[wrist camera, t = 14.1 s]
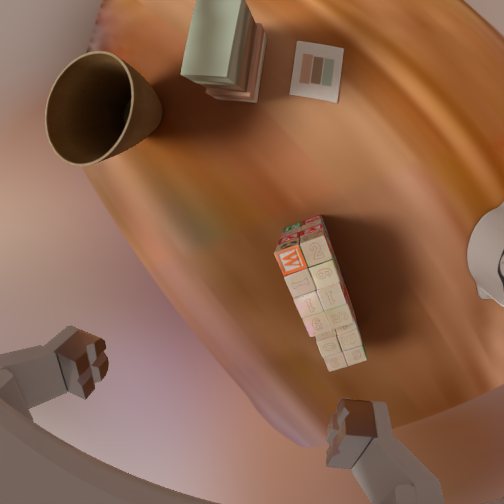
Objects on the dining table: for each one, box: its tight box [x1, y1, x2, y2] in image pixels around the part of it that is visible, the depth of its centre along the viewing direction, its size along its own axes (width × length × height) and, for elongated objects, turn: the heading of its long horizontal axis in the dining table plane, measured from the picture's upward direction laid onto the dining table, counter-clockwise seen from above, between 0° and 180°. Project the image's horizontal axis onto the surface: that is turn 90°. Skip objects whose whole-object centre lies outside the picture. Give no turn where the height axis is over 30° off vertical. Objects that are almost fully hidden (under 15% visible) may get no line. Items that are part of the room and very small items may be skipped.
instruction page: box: [289, 41, 344, 103], centre depth 39 cm, size 7×9×1 cm
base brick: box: [206, 23, 267, 103], centre depth 38 cm, size 6×11×6 cm, turn 172°
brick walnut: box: [198, 15, 257, 93], centre depth 33 cm, size 5×10×5 cm, turn 172°
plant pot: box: [45, 51, 163, 166], centre depth 38 cm, size 15×15×16 cm
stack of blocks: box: [274, 215, 367, 371], centre depth 43 cm, size 21×6×12 cm, turn 24°
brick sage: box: [180, 0, 251, 86], centre depth 28 cm, size 5×10×5 cm, turn 172°
